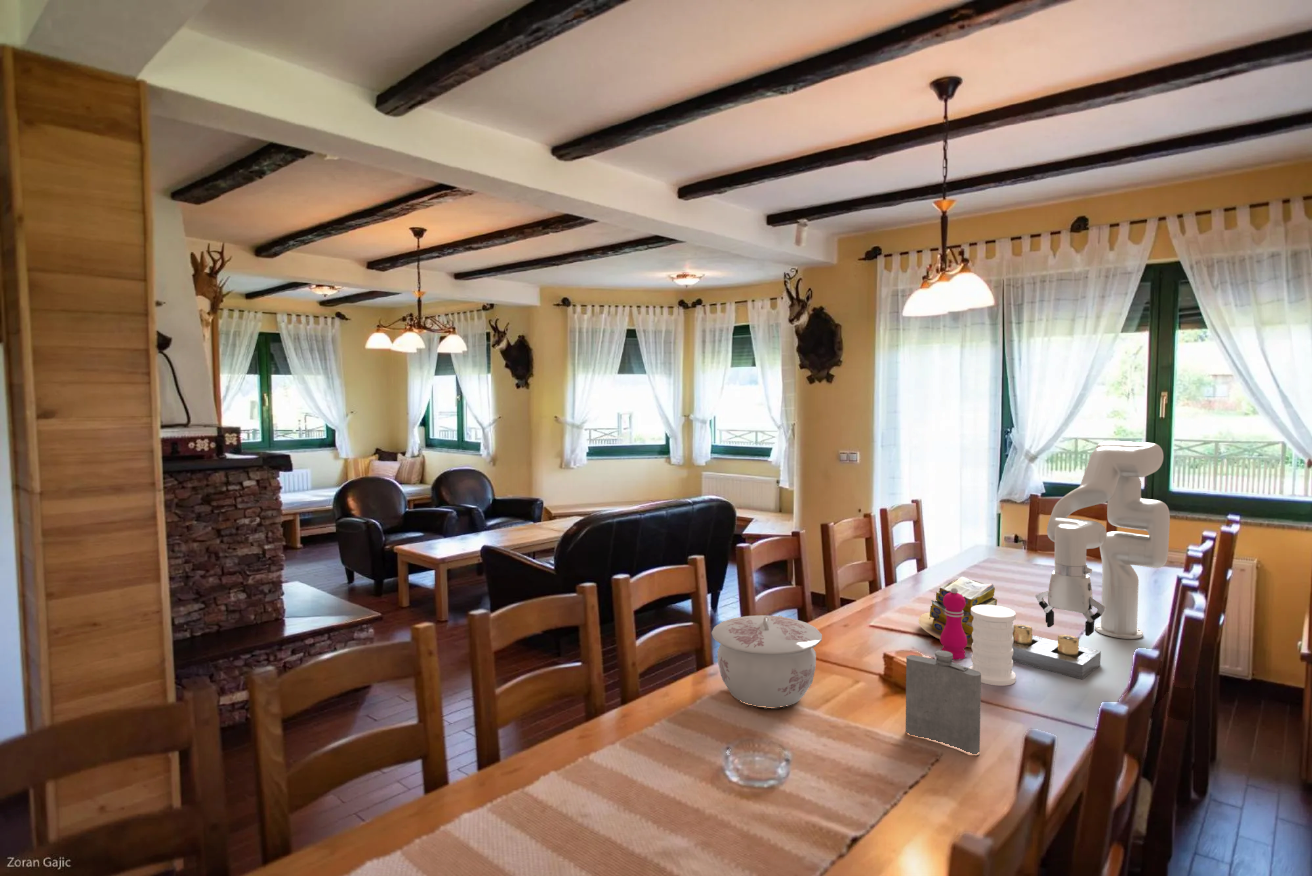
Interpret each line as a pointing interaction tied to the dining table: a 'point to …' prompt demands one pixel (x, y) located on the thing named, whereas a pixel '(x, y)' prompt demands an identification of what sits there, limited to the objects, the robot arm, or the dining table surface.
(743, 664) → the chamber pot
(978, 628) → the decorative container
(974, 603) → the stacked packages on plate
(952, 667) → the hip flask
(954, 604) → the pepper mill
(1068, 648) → the bushing
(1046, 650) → the jig
